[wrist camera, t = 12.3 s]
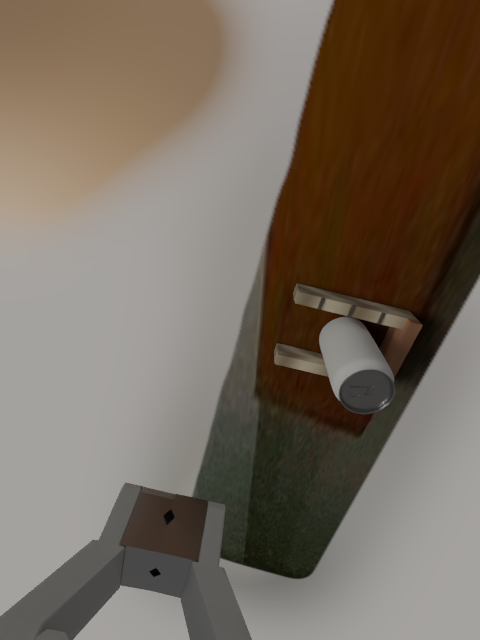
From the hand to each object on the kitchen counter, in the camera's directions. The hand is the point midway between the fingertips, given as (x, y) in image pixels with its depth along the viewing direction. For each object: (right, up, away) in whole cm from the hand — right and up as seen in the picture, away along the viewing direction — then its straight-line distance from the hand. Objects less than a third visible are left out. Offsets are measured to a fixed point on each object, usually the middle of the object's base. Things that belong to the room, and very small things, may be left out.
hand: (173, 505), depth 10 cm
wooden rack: (+15, +4, +35) cm, 38 cm away
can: (+16, +3, +35) cm, 39 cm away
